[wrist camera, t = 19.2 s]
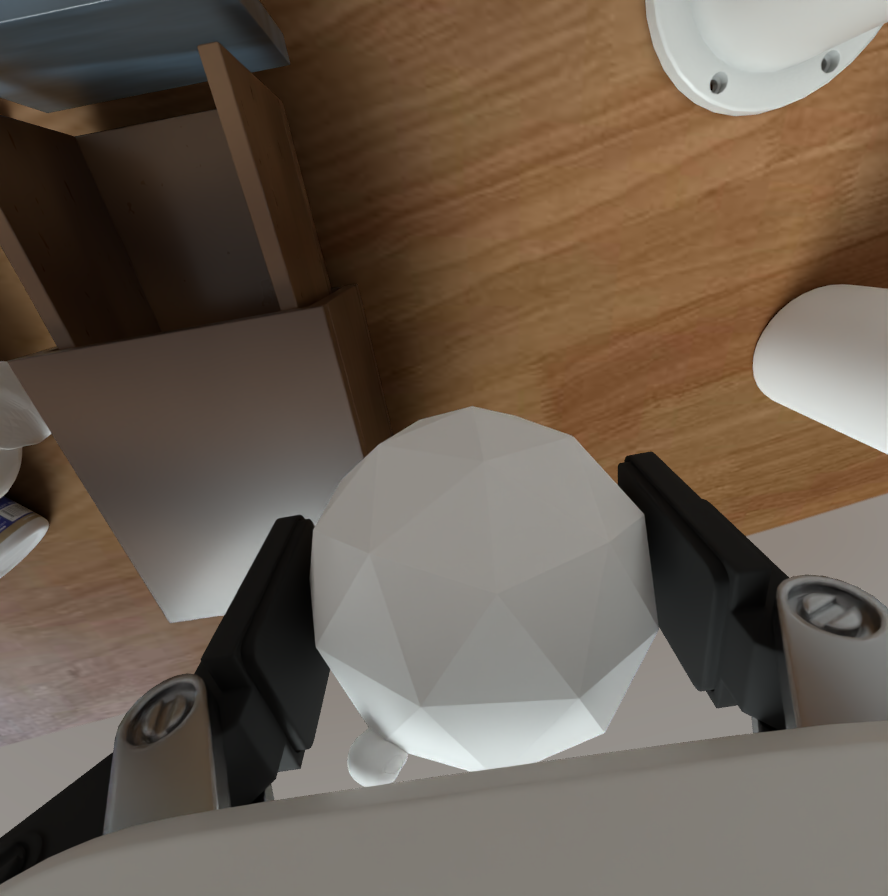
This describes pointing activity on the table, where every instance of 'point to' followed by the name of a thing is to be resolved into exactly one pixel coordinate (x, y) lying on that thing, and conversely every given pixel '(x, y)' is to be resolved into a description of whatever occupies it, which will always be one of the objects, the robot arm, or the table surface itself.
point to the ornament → (479, 594)
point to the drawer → (151, 170)
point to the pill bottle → (18, 533)
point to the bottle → (831, 360)
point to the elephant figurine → (16, 426)
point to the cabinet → (213, 436)
